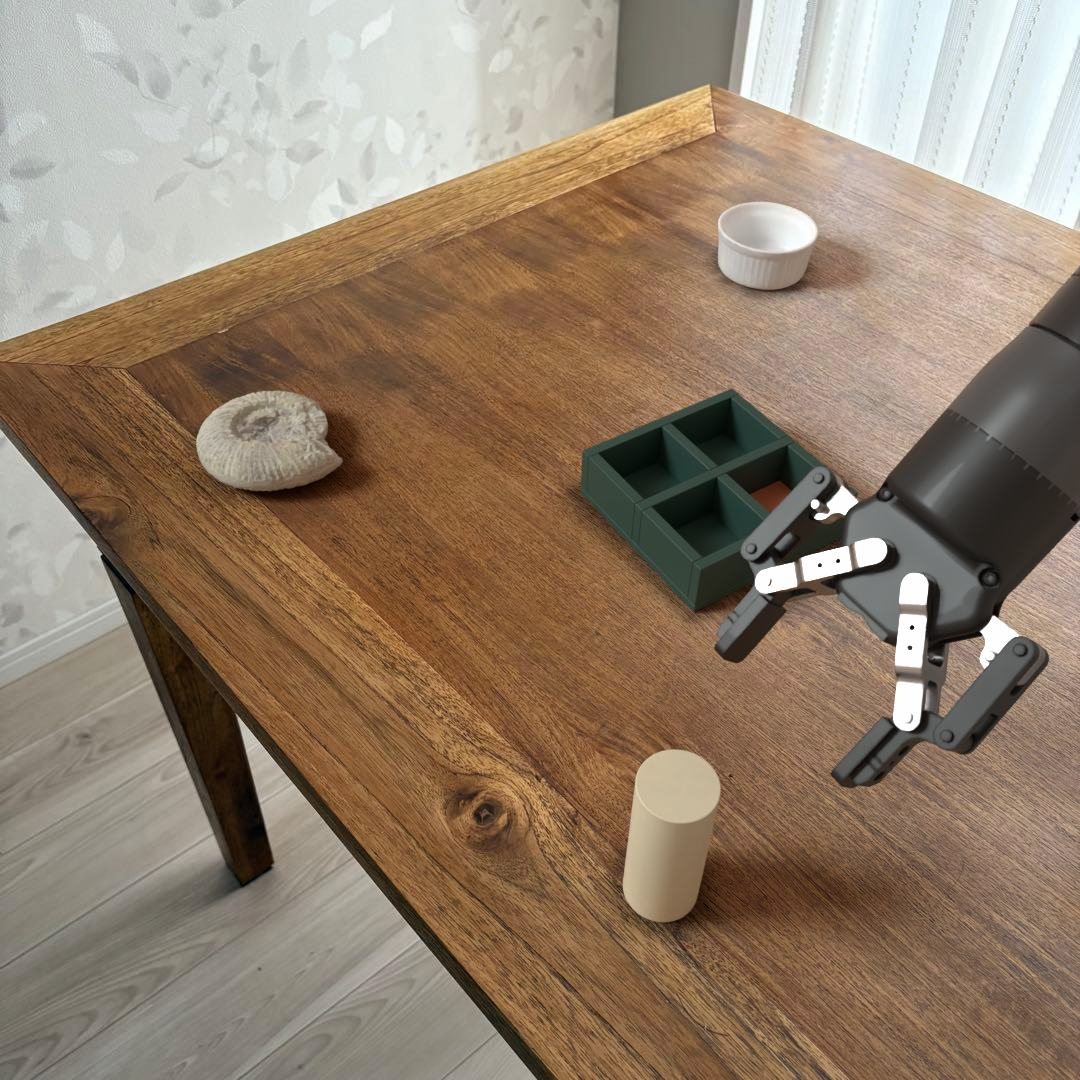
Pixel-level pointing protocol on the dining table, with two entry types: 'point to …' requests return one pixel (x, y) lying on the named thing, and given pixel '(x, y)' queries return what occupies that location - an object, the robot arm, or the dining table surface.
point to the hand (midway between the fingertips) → (781, 716)
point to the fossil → (267, 442)
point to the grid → (699, 492)
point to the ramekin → (765, 244)
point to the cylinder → (669, 833)
